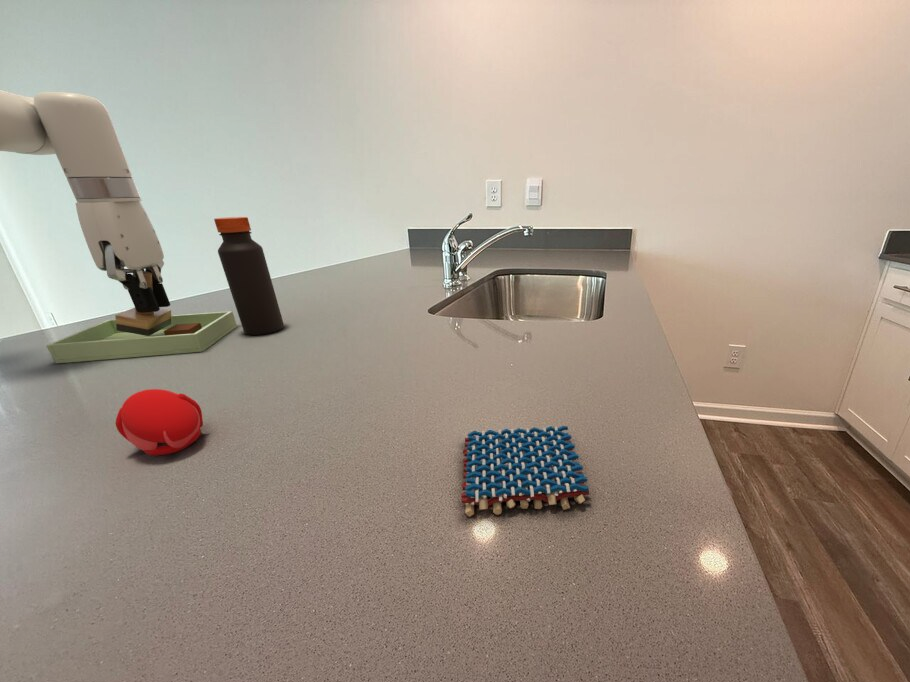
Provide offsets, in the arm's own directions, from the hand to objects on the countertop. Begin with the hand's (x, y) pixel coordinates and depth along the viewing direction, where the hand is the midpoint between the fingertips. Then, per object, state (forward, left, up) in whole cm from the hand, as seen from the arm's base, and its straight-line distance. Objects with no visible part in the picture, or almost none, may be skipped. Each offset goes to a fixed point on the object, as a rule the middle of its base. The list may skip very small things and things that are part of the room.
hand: (154, 308), depth 70 cm
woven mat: (+54, -50, -6) cm, 74 cm away
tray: (-2, 0, -6) cm, 6 cm away
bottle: (+15, +3, -6) cm, 17 cm away
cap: (+19, -37, -6) cm, 42 cm away
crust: (+3, 0, -6) cm, 6 cm away
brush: (-3, 0, -3) cm, 4 cm away
